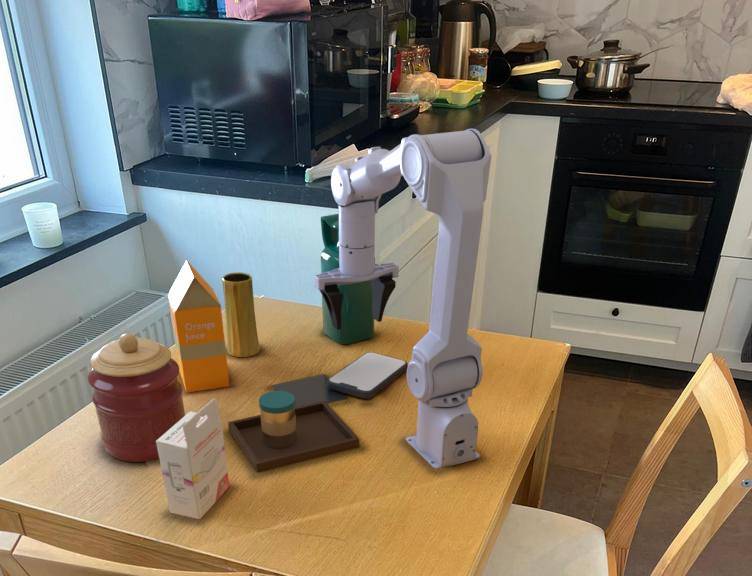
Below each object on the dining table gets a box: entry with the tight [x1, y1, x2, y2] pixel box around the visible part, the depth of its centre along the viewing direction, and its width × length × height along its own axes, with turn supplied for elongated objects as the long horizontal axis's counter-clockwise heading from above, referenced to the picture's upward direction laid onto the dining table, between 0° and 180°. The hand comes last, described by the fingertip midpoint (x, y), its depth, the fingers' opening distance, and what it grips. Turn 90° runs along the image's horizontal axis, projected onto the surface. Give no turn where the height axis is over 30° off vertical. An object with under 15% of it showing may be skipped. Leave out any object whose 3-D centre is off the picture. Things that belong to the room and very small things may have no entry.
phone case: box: [327, 351, 409, 400], centre depth 136 cm, size 9×2×16 cm
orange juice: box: [167, 259, 230, 393], centre depth 131 cm, size 8×9×20 cm
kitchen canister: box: [87, 333, 186, 463], centre depth 114 cm, size 13×13×18 cm
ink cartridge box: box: [156, 397, 230, 520], centre depth 102 cm, size 9×5×15 cm, turn 160°
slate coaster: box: [271, 373, 348, 407], centre depth 132 cm, size 10×10×1 cm
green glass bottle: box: [320, 213, 376, 345], centre depth 147 cm, size 10×8×22 cm
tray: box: [227, 401, 360, 473], centre depth 119 cm, size 13×16×2 cm
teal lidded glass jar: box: [258, 390, 297, 448], centre depth 117 cm, size 5×5×7 cm
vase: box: [221, 271, 261, 358], centre depth 142 cm, size 6×6×14 cm
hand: (357, 323), depth 132 cm, fingers open, 7 cm apart
